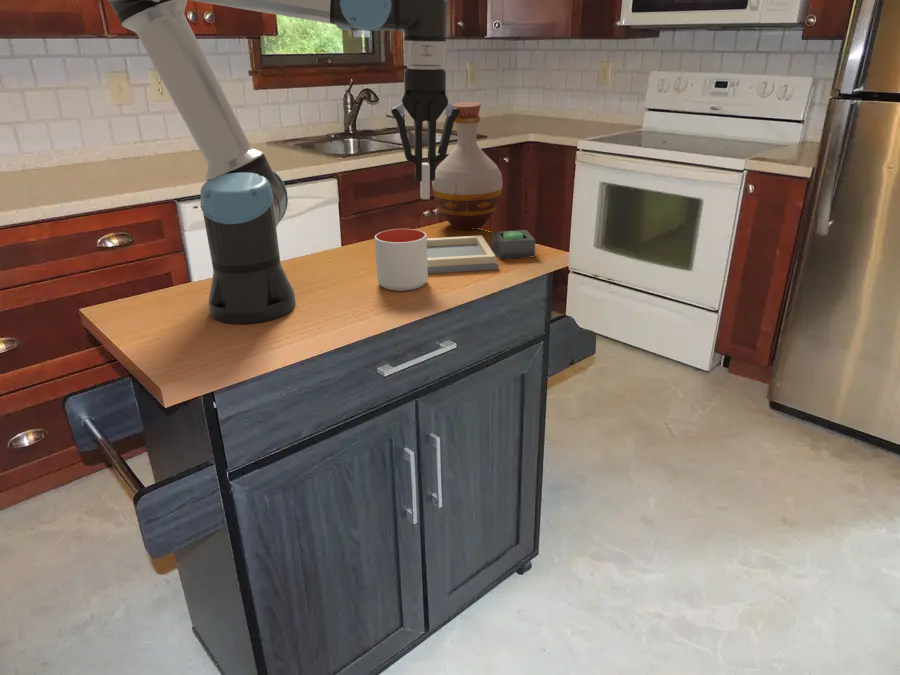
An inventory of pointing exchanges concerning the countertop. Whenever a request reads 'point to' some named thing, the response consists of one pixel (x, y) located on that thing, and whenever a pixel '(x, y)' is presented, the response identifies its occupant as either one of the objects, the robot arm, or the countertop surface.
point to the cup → (401, 259)
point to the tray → (459, 254)
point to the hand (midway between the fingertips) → (425, 197)
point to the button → (513, 235)
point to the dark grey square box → (513, 245)
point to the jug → (467, 176)
